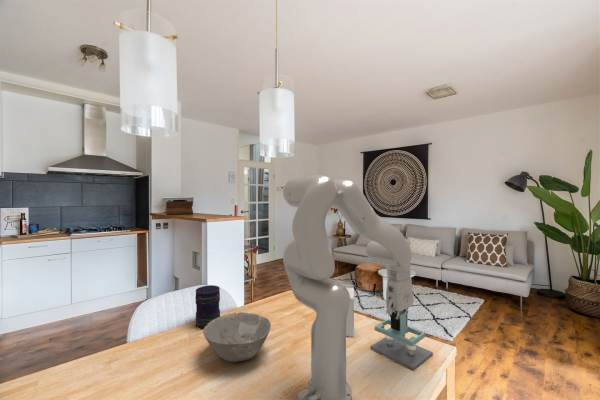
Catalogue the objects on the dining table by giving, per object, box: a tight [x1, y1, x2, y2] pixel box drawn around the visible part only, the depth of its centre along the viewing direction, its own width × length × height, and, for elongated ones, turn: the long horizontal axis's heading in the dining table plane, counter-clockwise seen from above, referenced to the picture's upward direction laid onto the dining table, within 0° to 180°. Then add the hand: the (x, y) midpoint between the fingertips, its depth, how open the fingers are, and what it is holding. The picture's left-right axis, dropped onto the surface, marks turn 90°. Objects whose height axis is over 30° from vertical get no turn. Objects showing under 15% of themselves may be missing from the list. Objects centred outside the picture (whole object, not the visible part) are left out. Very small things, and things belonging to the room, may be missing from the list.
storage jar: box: [194, 285, 221, 330], centre depth 117 cm, size 10×10×15 cm
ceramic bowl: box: [202, 312, 272, 363], centre depth 94 cm, size 22×23×10 cm
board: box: [369, 335, 434, 372], centre depth 96 cm, size 13×16×4 cm
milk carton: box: [342, 283, 355, 338], centre depth 110 cm, size 7×7×19 cm
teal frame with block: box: [374, 311, 426, 347], centre depth 95 cm, size 9×14×7 cm, turn 40°
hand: (399, 326), depth 95 cm, fingers closed on teal frame with block, 4 cm apart
